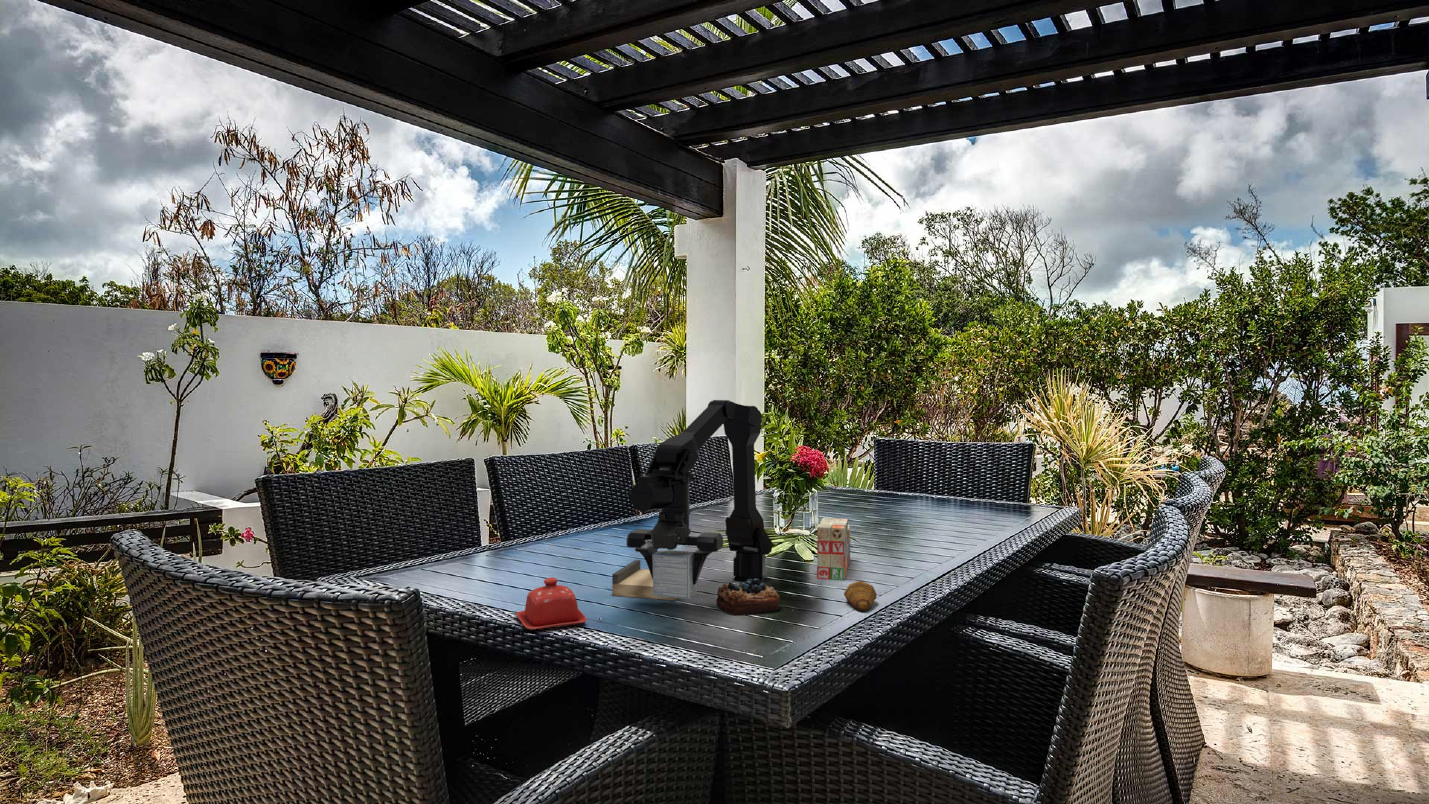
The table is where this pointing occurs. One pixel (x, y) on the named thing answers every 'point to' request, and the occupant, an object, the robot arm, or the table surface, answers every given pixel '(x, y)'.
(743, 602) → the pastry
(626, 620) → the table surface
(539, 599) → the butter dish
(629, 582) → the dock
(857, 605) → the croissant
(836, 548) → the stack of blocks
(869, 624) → the table surface
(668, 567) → the medicine box
